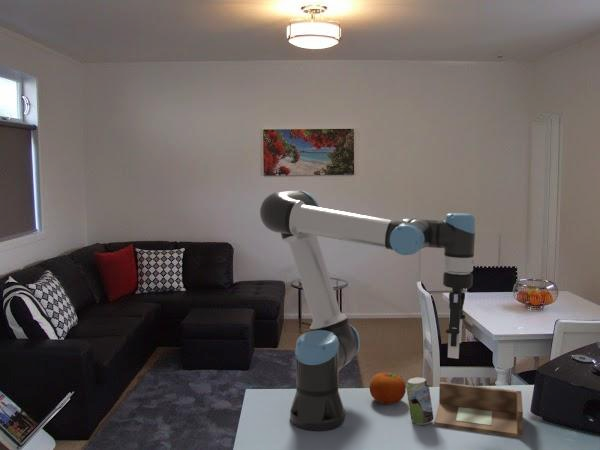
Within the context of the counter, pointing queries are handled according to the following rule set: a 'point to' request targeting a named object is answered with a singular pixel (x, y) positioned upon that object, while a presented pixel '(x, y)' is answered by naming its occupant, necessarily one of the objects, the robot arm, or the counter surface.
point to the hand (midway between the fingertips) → (454, 349)
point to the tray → (480, 409)
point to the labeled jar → (419, 400)
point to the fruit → (387, 388)
